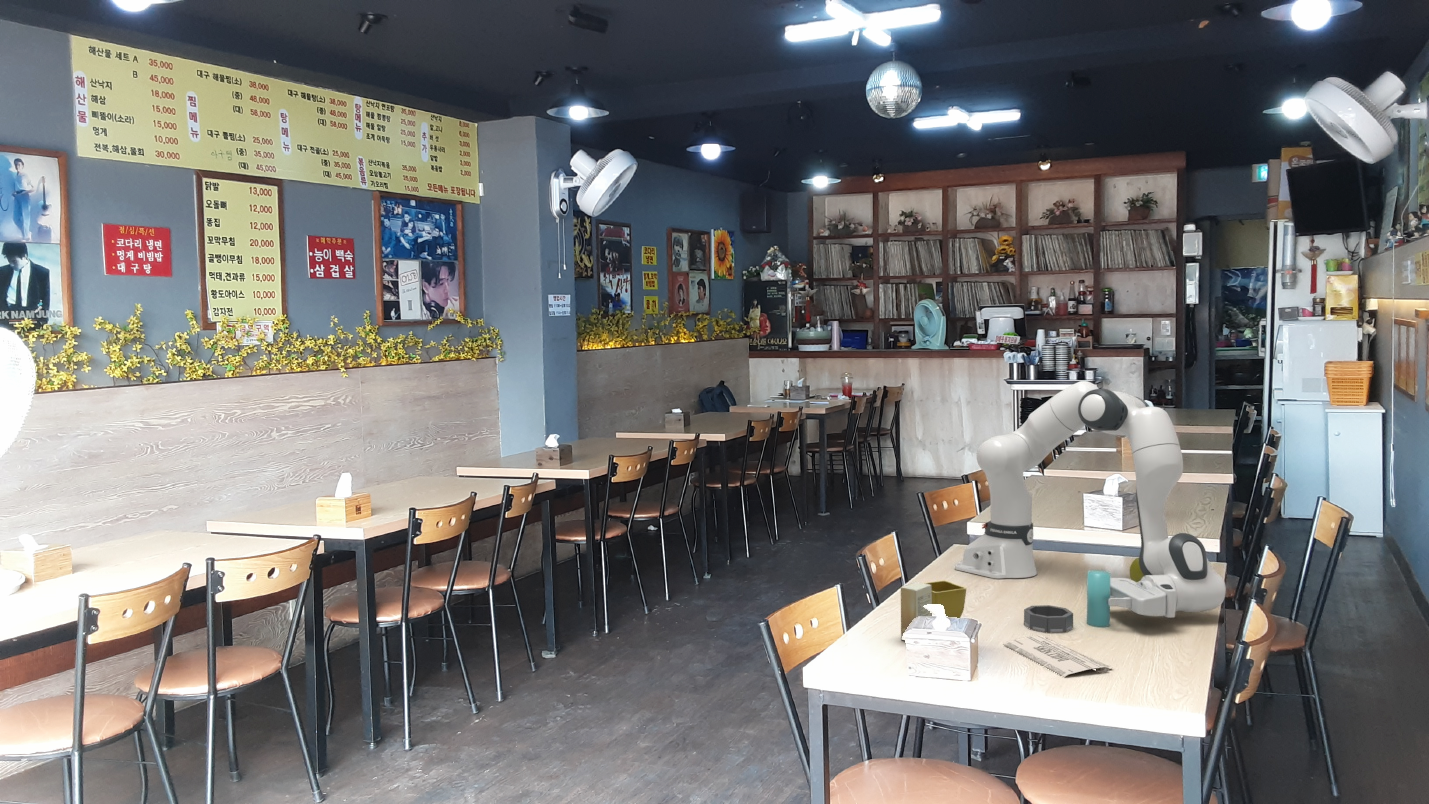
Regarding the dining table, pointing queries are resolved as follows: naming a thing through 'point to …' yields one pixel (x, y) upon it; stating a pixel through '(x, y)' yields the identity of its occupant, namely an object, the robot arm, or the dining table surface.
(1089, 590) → the teal pillar candle
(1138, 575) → the apple
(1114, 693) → the dining table surface
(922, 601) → the skincare box
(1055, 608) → the barrel ring
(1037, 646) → the newspaper
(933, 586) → the flower pot
